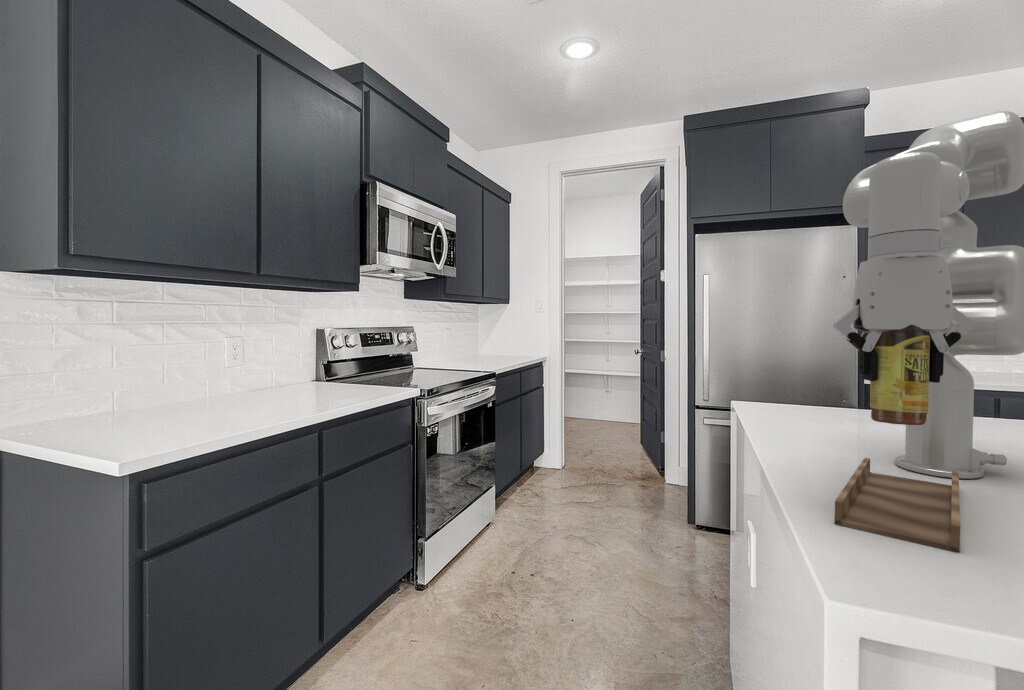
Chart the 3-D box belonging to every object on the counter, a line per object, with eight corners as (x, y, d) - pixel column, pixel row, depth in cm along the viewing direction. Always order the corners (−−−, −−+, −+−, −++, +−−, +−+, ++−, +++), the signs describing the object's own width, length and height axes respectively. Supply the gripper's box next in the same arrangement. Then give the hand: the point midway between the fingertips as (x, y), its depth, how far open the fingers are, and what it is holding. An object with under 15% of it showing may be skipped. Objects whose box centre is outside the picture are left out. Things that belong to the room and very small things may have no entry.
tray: (864, 474, 87) (864, 457, 87) (958, 490, 79) (958, 471, 79) (834, 523, 66) (834, 501, 65) (959, 552, 57) (960, 526, 57)
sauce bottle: (914, 428, 61) (915, 274, 60) (860, 421, 66) (861, 279, 66) (938, 424, 64) (940, 277, 63) (885, 417, 69) (886, 282, 69)
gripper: (965, 250, 65) (961, 380, 66) (820, 256, 71) (818, 376, 71) (1001, 240, 58) (997, 386, 59) (837, 248, 63) (835, 381, 64)
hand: (899, 379), depth 65 cm, fingers closed on sauce bottle, 6 cm apart
